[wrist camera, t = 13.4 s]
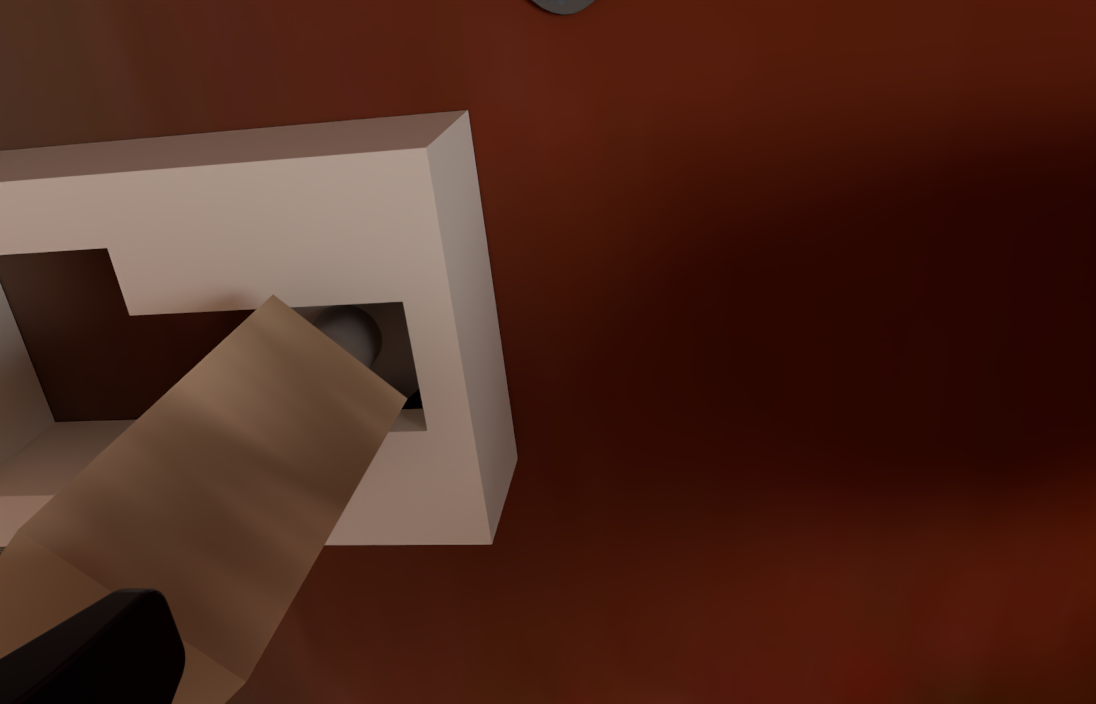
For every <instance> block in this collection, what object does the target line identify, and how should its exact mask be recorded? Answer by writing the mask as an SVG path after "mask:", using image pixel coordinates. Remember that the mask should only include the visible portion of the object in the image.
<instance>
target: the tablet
mask: <svg viewBox="0 0 1096 704" xmlns="http://www.w3.org/2000/svg"><path fill="white" fill-rule="evenodd" d="M532 1H534V2H535V3H536V4H537V5H538V6H540V7H541V8H544V9H546V10H548V11H550V12H552V13H557V14H562V15H565V14H573V13H576V12H578V11H580V10H582V9H584V8H585V7H587V6H588V5H589V4H591V3H592V2H593V1H595V0H532Z"/></svg>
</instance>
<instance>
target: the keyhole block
mask: <svg viewBox="0 0 1096 704" xmlns="http://www.w3.org/2000/svg"><path fill="white" fill-rule="evenodd" d="M99 248H107V249H108V252H109V255H110V258H111V261H112V264H113V267H114V270H115V273H116V276H117V279H118V282H119V285H120V288H121V291H122V294H123V297H124V300H125V303H126V306H127V309H128V312H129V315H130V316H131V315H151V314H170V313H190V312H209V311H229V310H248V309H258V308H259V307H260V306H261V305H262V304H263V303H264V302H265V301H266V300H267V299H268V298H270V297H271V296H272V295H275V296H276V297H277V298H279V299H280V300H281V301H282V302H284V303H285V304H286V305H288V306H289V307H307V306H326V305H346V304H365V303H385V302H403V305H404V311H405V316H406V321H407V326H408V332H409V337H410V342H411V347H412V353H413V358H414V363H415V368H416V374H417V379H418V384H419V389H420V394H421V400H422V405H423V409H401V411H400V413H399V415H398V416H397V418H396V420H395V422H394V423H393V425H392V427H391V429H390V430H389V432H388V434H387V436H386V437H385V439H384V441H383V443H382V444H381V446H380V448H379V450H378V451H377V453H376V455H375V457H374V458H373V460H372V462H371V464H370V466H369V467H368V469H367V471H366V473H365V474H364V476H363V478H362V480H361V481H360V483H359V485H358V487H357V488H356V490H355V492H354V494H353V495H352V497H351V499H350V501H349V502H348V504H347V506H346V508H345V509H344V511H343V513H342V515H341V517H340V518H339V520H338V522H337V524H336V525H335V527H334V529H333V531H332V532H331V534H330V536H329V538H328V539H327V541H326V543H325V545H486V544H492V543H493V539H494V536H495V533H496V529H497V526H498V522H499V519H500V516H501V512H502V509H503V506H504V502H505V499H506V496H507V492H508V489H509V486H510V482H511V479H512V476H513V472H514V469H515V466H516V462H517V459H518V457H517V450H516V443H515V436H514V429H513V422H512V415H511V408H510V401H509V394H508V387H507V380H506V373H505V366H504V359H503V352H502V345H501V338H500V331H499V324H498V317H497V310H496V303H495V296H494V289H493V282H492V275H491V268H490V261H489V254H488V247H487V240H486V233H485V226H484V219H483V212H482V205H481V198H480V191H479V184H478V177H477V170H476V164H475V157H474V150H473V143H472V136H471V129H470V122H469V115H468V110H463V111H451V112H440V113H428V114H417V115H406V116H394V117H383V118H371V119H360V120H348V121H337V122H325V123H314V124H303V125H291V126H280V127H268V128H257V129H245V130H234V131H222V132H211V133H199V134H188V135H177V136H165V137H154V138H142V139H131V140H119V141H108V142H96V143H85V144H74V145H62V146H51V147H39V148H28V149H16V150H5V151H0V255H7V254H22V253H38V252H53V251H68V250H84V249H99ZM135 421H136V420H108V421H75V422H55V421H54V418H53V415H52V413H51V410H50V408H49V405H48V403H47V400H46V398H45V395H44V393H43V390H42V388H41V385H40V383H39V380H38V377H37V375H36V372H35V370H34V367H33V365H32V362H31V360H30V357H29V355H28V352H27V350H26V347H25V345H24V342H23V339H22V337H21V334H20V332H19V329H18V327H17V324H16V322H15V319H14V317H13V314H12V312H11V309H10V306H9V304H8V301H7V299H6V296H5V294H4V291H3V289H2V286H1V284H0V547H6V546H7V545H8V544H9V542H10V541H11V539H12V538H13V536H14V535H15V533H16V532H17V531H18V529H19V528H20V527H21V526H22V525H24V524H25V523H26V522H27V521H28V520H29V519H30V518H31V517H32V516H33V515H34V514H35V513H37V512H38V511H39V510H40V509H41V508H42V507H43V506H44V505H45V504H46V503H47V502H49V501H50V500H51V499H52V498H53V497H54V496H55V495H56V494H57V493H58V492H59V491H60V490H62V489H63V488H64V487H65V486H66V485H67V484H68V483H69V482H70V481H71V480H72V479H73V478H75V477H76V476H77V475H78V474H79V473H80V472H81V471H82V470H83V469H84V468H85V467H86V466H88V465H89V464H90V463H91V462H92V461H93V460H94V459H95V458H96V457H97V456H98V455H99V454H101V453H102V452H103V451H104V450H105V449H106V448H107V447H108V446H109V445H110V444H111V443H112V442H114V441H115V440H116V439H117V438H118V437H119V436H120V435H121V434H122V433H123V432H124V431H125V430H127V429H128V428H129V427H130V426H131V425H132V424H133V423H134V422H135Z"/></svg>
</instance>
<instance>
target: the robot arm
mask: <svg viewBox="0 0 1096 704" xmlns="http://www.w3.org/2000/svg"><path fill="white" fill-rule="evenodd" d="M185 657H186V656H185V648H184V645H183V642H182V639H181V636H180V634H179V631H178V628H177V626H176V623H175V620H174V618H173V615H172V612H171V610H170V607H169V604H168V602H167V599H166V597H165V595H164V594H163V593H162V592H160V591H159V590H157V589H154V588H123V589H118V590H116V591H114V592H112V593H110V594H108V595H107V596H105V597H103V598H102V599H100V600H98V601H97V602H95V603H93V604H92V605H90V606H88V607H86V608H85V609H83V610H81V611H80V612H78V613H76V614H75V615H73V616H71V617H70V618H68V619H66V620H65V621H63V622H61V623H60V624H58V625H56V626H54V627H53V628H51V629H49V630H48V631H46V632H44V633H43V634H41V635H39V636H38V637H36V638H34V639H33V640H31V641H29V642H27V643H26V644H24V645H22V646H21V647H19V648H17V649H16V650H14V651H12V652H11V653H9V654H7V655H6V656H4V657H2V658H0V704H172V701H173V699H174V696H175V694H176V691H177V688H178V686H179V683H180V681H181V678H182V675H183V672H184V667H185Z"/></svg>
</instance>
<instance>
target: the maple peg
mask: <svg viewBox="0 0 1096 704" xmlns="http://www.w3.org/2000/svg"><path fill="white" fill-rule="evenodd" d="M418 388H419V384H418V379H417V374H416V368H415V363H414V358H413V353H412V347H411V342H410V337H409V332H408V326H407V321H406V316H405V311H404V305H403V302H385V303H365V304H346V305H326V306H307V307H289V306H288V305H286V304H285V303H284V302H282V301H281V300H280V299H279V298H277V297H276V296H275V295H272V296H271V297H270V298H268V299H267V300H266V301H265V302H264V303H263V304H262V305H261V306H260V307H259V308H258V309H257V310H255V311H254V312H253V313H252V314H251V315H250V316H249V317H248V318H247V319H246V320H245V321H244V322H242V323H241V324H240V325H239V326H238V327H237V328H236V329H235V330H234V331H233V332H232V333H231V334H229V335H228V336H227V337H226V338H225V339H224V340H223V341H222V342H221V343H220V344H219V345H218V346H216V347H215V348H214V349H213V350H212V351H211V352H210V353H209V354H208V355H207V356H206V357H205V358H203V359H202V360H201V361H200V362H199V363H198V364H197V365H196V366H195V367H194V368H193V369H192V370H190V371H189V372H188V373H187V374H186V375H185V376H184V377H183V378H182V379H181V380H180V381H179V382H177V383H176V384H175V385H174V386H173V387H172V388H171V389H170V390H169V391H168V392H167V393H166V394H164V395H163V396H162V397H161V398H160V399H159V400H158V401H157V402H156V403H155V404H154V405H153V406H151V407H150V408H149V409H148V410H147V411H146V412H145V413H144V414H143V415H142V416H141V417H140V418H138V419H137V420H136V421H135V422H134V423H133V424H132V425H131V426H130V427H129V428H128V429H127V430H125V431H124V432H123V433H122V434H121V435H120V436H119V437H118V438H117V439H116V440H115V441H114V442H112V443H111V444H110V445H109V446H108V447H107V448H106V449H105V450H104V451H103V452H102V453H101V454H99V455H98V456H97V457H96V458H95V459H94V460H93V461H92V462H91V463H90V464H89V465H88V466H86V467H85V468H84V469H83V470H82V471H81V472H80V473H79V474H78V475H77V476H76V477H75V478H73V479H72V480H71V481H70V482H69V483H68V484H67V485H66V486H65V487H64V488H63V489H62V490H60V491H59V492H58V493H57V494H56V495H55V496H54V497H53V498H52V499H51V500H50V501H49V502H47V503H46V504H45V505H44V506H43V507H42V508H41V509H40V510H39V511H38V512H37V513H35V514H34V515H33V516H32V517H31V518H30V519H29V520H28V521H27V522H26V523H25V524H24V525H22V526H21V527H20V528H19V529H18V531H17V532H16V533H15V535H14V536H13V538H12V539H11V541H10V542H9V544H8V545H7V546H6V548H5V549H4V551H3V552H2V554H1V555H0V658H2V657H4V656H6V655H7V654H9V653H11V652H12V651H14V650H16V649H17V648H19V647H21V646H22V645H24V644H26V643H27V642H29V641H31V640H33V639H34V638H36V637H38V636H39V635H41V634H43V633H44V632H46V631H48V630H49V629H51V628H53V627H54V626H56V625H58V624H60V623H61V622H63V621H65V620H66V619H68V618H70V617H71V616H73V615H75V614H76V613H78V612H80V611H81V610H83V609H85V608H86V607H88V606H90V605H92V604H93V603H95V602H97V601H98V600H100V599H102V598H103V597H105V596H107V595H108V594H110V593H112V592H114V591H116V590H118V589H123V588H154V589H157V590H159V591H160V592H162V593H163V594H164V595H165V597H166V599H167V602H168V604H169V607H170V610H171V612H172V615H173V618H174V620H175V623H176V626H177V628H178V631H179V634H180V636H181V639H182V642H183V645H184V648H185V656H186V657H185V667H184V672H183V675H182V678H181V681H180V683H179V686H178V688H177V691H176V694H175V696H174V699H173V701H172V704H225V703H226V702H227V701H228V700H229V699H230V698H231V697H232V696H233V695H234V694H235V693H236V692H237V691H238V690H239V689H240V688H241V687H242V686H243V685H244V684H245V683H246V682H247V680H248V678H249V677H250V675H251V673H252V671H253V669H254V668H255V666H256V664H257V662H258V661H259V659H260V657H261V655H262V654H263V652H264V650H265V648H266V647H267V645H268V643H269V641H270V640H271V638H272V636H273V634H274V633H275V631H276V629H277V627H278V626H279V624H280V622H281V620H282V618H283V617H284V615H285V613H286V611H287V610H288V608H289V606H290V604H291V603H292V601H293V599H294V597H295V596H296V594H297V592H298V590H299V589H300V587H301V585H302V583H303V582H304V580H305V578H306V576H307V575H308V573H309V571H310V569H311V567H312V566H313V564H314V562H315V560H316V559H317V557H318V555H319V553H320V552H321V550H322V548H323V546H324V545H325V543H326V541H327V539H328V538H329V536H330V534H331V532H332V531H333V529H334V527H335V525H336V524H337V522H338V520H339V518H340V517H341V515H342V513H343V511H344V509H345V508H346V506H347V504H348V502H349V501H350V499H351V497H352V495H353V494H354V492H355V490H356V488H357V487H358V485H359V483H360V481H361V480H362V478H363V476H364V474H365V473H366V471H367V469H368V467H369V466H370V464H371V462H372V460H373V458H374V457H375V455H376V453H377V451H378V450H379V448H380V446H381V444H382V443H383V441H384V439H385V437H386V436H387V434H388V432H389V430H390V429H391V427H392V425H393V423H394V422H395V420H396V418H397V416H398V415H399V413H400V411H401V409H402V408H403V406H404V404H405V402H406V400H407V399H408V398H409V397H410V396H411V395H413V394H414V393H415V392H416V391H417V390H418Z"/></svg>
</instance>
